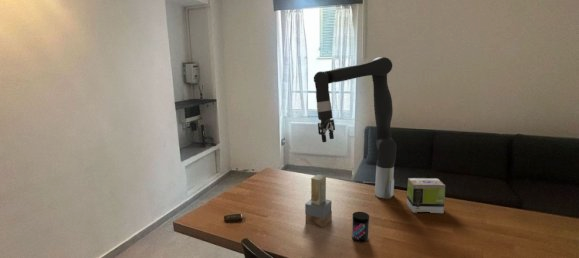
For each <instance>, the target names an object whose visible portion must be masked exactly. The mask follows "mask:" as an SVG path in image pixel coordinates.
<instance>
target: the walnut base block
mask: <svg viewBox="0 0 579 258" xmlns="http://www.w3.org/2000/svg"><path fill="white" fill-rule="evenodd" d="M332 215H333V211H332V210H331V211H330V212H329V213H328V215H327V216H326V217H325V218H324V219H322V218H318V217H315V216H311V215H307V214H305V224H307V225H309V226H314V227H317V228H319V229H325V228H326V226H327V225H328V224H329V223H330V222H331V221H332V220H333V219H332V218H333V216H332Z"/></svg>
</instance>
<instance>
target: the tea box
mask: <svg viewBox="0 0 579 258" xmlns="http://www.w3.org/2000/svg"><path fill="white" fill-rule="evenodd" d="M406 190H407V192H406V205H407V206H408V208H409V209H411V210H410V211H411V212H412V213H417V212H430V214H444V212H445V200H446V184H444V183H443V181H441V180H440V179H439V178H436V177H434V178H433V177H430V178H427V177H408V178H407V189H406Z"/></svg>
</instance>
